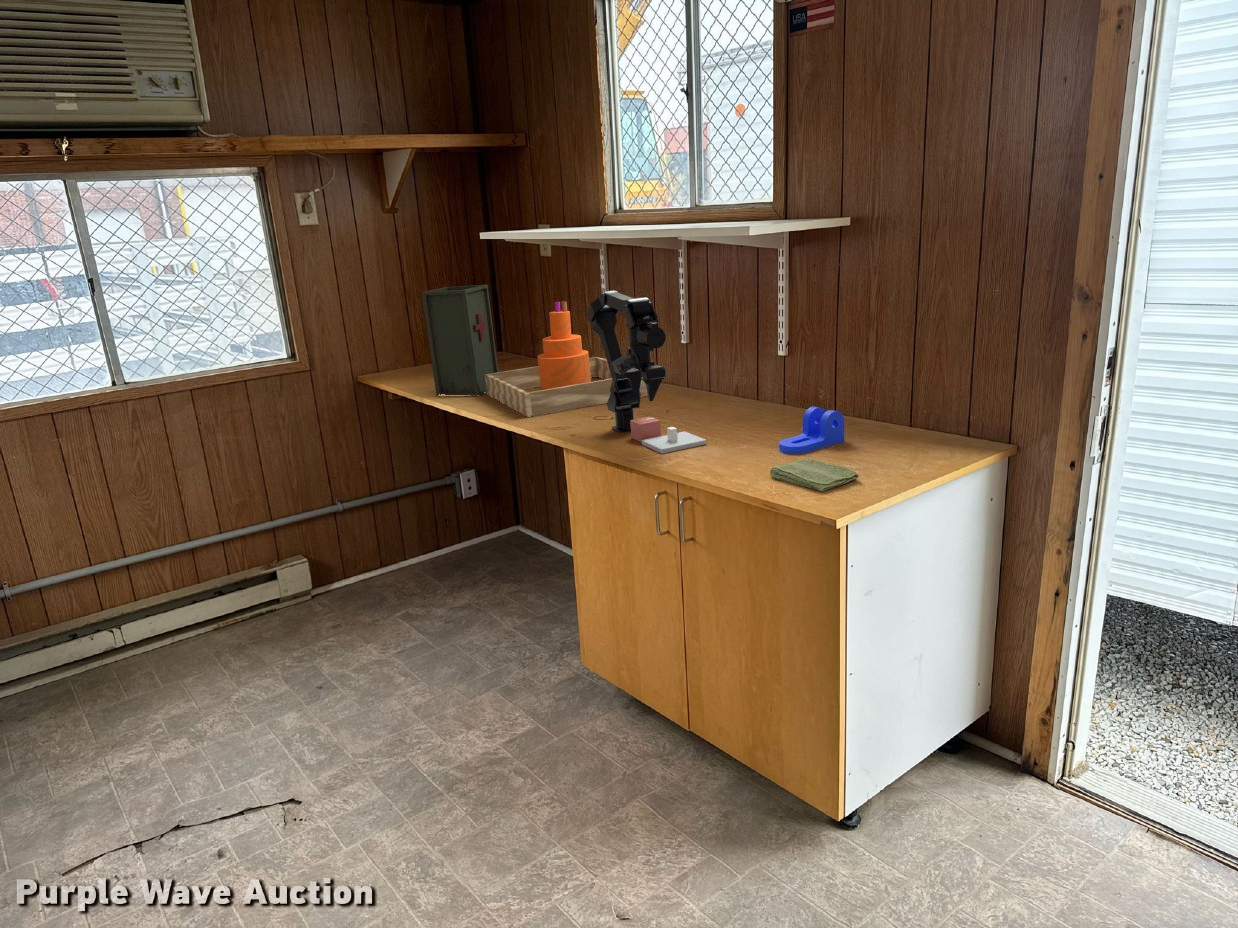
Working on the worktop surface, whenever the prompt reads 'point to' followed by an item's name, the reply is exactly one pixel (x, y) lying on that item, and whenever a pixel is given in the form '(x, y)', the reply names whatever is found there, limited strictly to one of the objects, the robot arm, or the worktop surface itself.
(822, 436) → the bracket
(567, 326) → the cake
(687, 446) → the peg base plate
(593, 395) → the storage crate
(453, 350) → the first aid box
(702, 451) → the worktop surface
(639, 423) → the pink slotted box
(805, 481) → the washcloth
